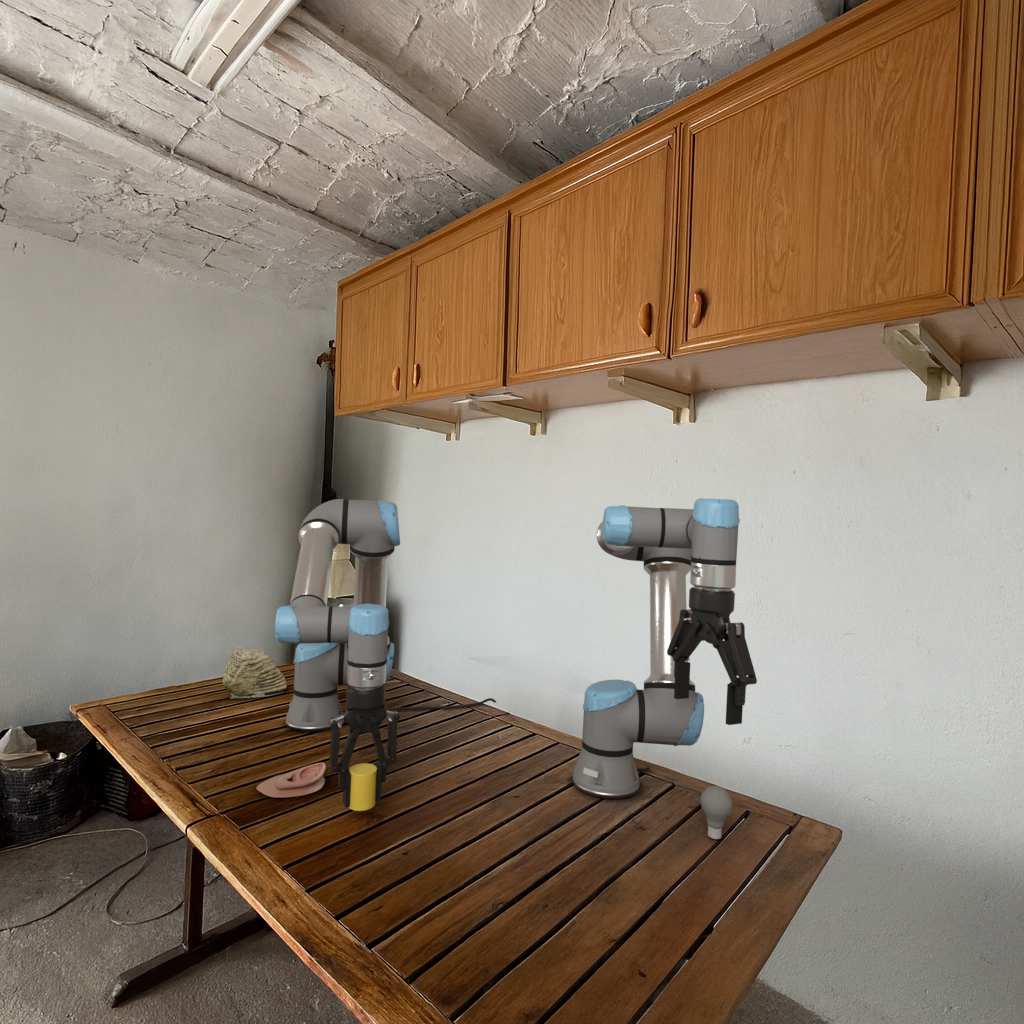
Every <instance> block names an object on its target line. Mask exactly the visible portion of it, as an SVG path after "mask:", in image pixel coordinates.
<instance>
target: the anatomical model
mask: <svg viewBox="0 0 1024 1024" xmlns="http://www.w3.org/2000/svg"><path fill="white" fill-rule="evenodd" d="M326 768H327V765H326V763H325V762H316V763H313V764H309V765H306V766H302V767H300V768H297V769H294V770H292V771H289V772H286V773H282V774H278V775H275V776H273V777H270V778H267V779H265V780H264V781H262V782H261V783H259V784H258V785H256V790H257V792H259V793H261V794H263V795H264V796H267V797H270V798H275V799H278V798H293V797H294V798H295V797H300V796H301V797H302V796H306V795H309V794H312V793H315V792H318V791H320V790H321V789H322V788H323V787H324V785H325V783H326V778H325V777H324V775H325V772H326V770H327V769H326Z"/></svg>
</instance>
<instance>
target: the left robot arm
mask: <svg viewBox="0 0 1024 1024" xmlns="http://www.w3.org/2000/svg"><path fill="white" fill-rule="evenodd" d="M398 512H399V511H398V506H397V504H396V503H395V502H393V501H385V500H381V499H378V500H373V499H344V498H336V499H331V500H327V501H326V502H323V503H321V504H319V505H318V506H317V507H314V509H312V510H311V511H310V512H309V513H308V514H307V515H306V516H305V518H304V519H303V521H302V523H301V525H300V527H299V531H298V542H299V544H300V548H299V552H298V553H299V554H298V559H297V563H296V568H295V569H296V570H295V576H294V580H293V586H292V591H291V596H290V603H289V604H287V605H282V606H279V607H278V609H277V610H276V614H275V622H274V635H275V639H276V640H277V641H276V642H278V643H283V644H294V645H296V648H295V655H294V660H293V663H294V674H293V675H294V680H293V695H292V696H293V697H292V699H291V702H289V708H288V711H287V713H286V715H285V726H286V728H287V729H289V730H291V731H294V732H295V731H296V732H301V733H316V732H325V731H329V730H331V731H330V732H331V733H330V744H329V760H328V766H329V768H330V771H331V772H332V773H337V775H338V778H337V785H338V788H339V789H340V790H342V803H343V805H344V808H349V803H350V778H351V773H350V771H349V769H350V768H349V766H350V762H351V760H352V756H353V753H354V750H355V746H356V744H357V741H358V740H359V736H360V735H362V734H366V733H368V734H371V736H372V742H373V744H374V749H375V752H376V757H377V760H378V763H375V764H374V765H375V766H376V767H377V778H376V803H379V802H380V803H381V801H382V800H381V799H382V784H384V783H386V781H387V772H388V771H387V769H388V768H389V765H391V764H395V763H397V759H398V758H397V756H398V755H397V754H398V753H397V745H398V744H397V742H398V739H397V738H398V736H397V735H398V733H397V732H398V731H397V730H398V724H399V722H400V721H399V720H400V718H401V716H400V714H399V713H398V712H397V711H412V710H413V711H414V710H415V711H416V710H448V709H459V708H460V709H461V708H470V707H475V706H480V705H483V704H485V703H487V702H493V703H495V704H496V703H497V700H495V699H494V698H492V697H489V698H486V699H484V700H481V701H479V702H478V701H477V702H473V703H466V704H465V703H464V704H458V705H437V706H436V705H435V706H408V707H407V706H405V707H392V708H386V688H387V687H386V685H385V684H386V683H388V681H389V680H390V677H391V675H392V669H393V665H394V656H395V643H394V642H391V641H390V637H389V627H390V619H389V610H388V608H387V591H388V588H387V587H388V571H389V570H388V569H389V557H391V556H392V555H394V553H395V547H398V546H400V545H401V535H400V524H399V513H398ZM338 545H349V551H350V553H351V554H352V555H353V556H354V557H355V558H354V586H353V587H354V588H353V589H354V591H353V606H332V605H331V606H328V597H329V591H330V590H329V589H330V583H331V582H330V581H331V573H332V563H333V554H334V549H336V547H337V546H338ZM338 686H346V689H345V708H344V711H343V709H342V706H341V702H340V699H339V695H338ZM385 719H386V722H387V749H386V750H387V752H385V749H384V743H383V741H382V737H381V730H380V725H382V722H383V721H384V720H385ZM344 723H346V724H347V726H348V731H347V736H346V740H345V743H344V746H343V750H342V753H341V755H340V741H341V729H342V728H343V724H344ZM386 753H387V755H386ZM339 755H340V759H339Z"/></svg>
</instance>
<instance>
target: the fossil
mask: <svg viewBox="0 0 1024 1024" xmlns="http://www.w3.org/2000/svg"><path fill="white" fill-rule="evenodd" d="M222 676H223V677H222V685H223V687H224V688H225V690H226V691H228V693H229V698H230V699H250V698H264V697H271V696H275V695H281V694H284V693H285V691H286V689H287V687H288V686H287V680H286V678H285V676H284V674H283V673H282V672H281V669H279V668H278V667H277V665H276V663H275V662H274V660H273V659H272V658H271V657H270V656H269V655H268V654H267V653H266V652H265V650H264V649H263V648H260V647H258V648H251V647H247V646H246V647H245V646H238V647H237V648H236V649H235V650H233V651H232V653H231V656H230V657H229V659H228V660H227V663H226V666H225V668H224V671H223V675H222Z"/></svg>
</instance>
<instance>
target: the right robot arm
mask: <svg viewBox="0 0 1024 1024" xmlns="http://www.w3.org/2000/svg"><path fill="white" fill-rule="evenodd" d="M739 508H740V507H739V503H738V501H736V500H734V499H723V498H697V499H696V500H695V501H694V503H693V508H672V507H645V506H628V505H608V506H607V507H605V508H604V511H603V516H602V521H601V522H600V523H599V525H598V526H597V530H596V541H597V544H598V545H599V547H600V548H601V550H602V551H603V552H605V553H606V554H608V555H610V556H612V557H615V558H617V559H621V560H624V561H625V560H626V561H631V562H632V561H633V562H642V563H643V571H644V572H646V574H648V575H649V634H650V635H649V647H650V648H649V650H650V651H649V654H650V655H649V657H650V658H649V659H650V660H649V661H650V663H649V664H650V665H649V666H650V667H649V669H650V670H649V676H648V677H647V678H646V679H645V680H644V681H643V689H637V686H636V684H635V683H634V681H633V682H632V681H630V680H624V679H606V680H605V679H604V680H599V681H596V682H593V683H591V684H590V685H588V687H586V689H585V692H584V698H583V704H582V709H583V717H582V718H583V719H582V737H581V739H582V740H581V749H580V752H579V755H578V757H577V760H576V762H575V765H574V768H573V771H572V778H571V781H572V785H573V786H574V787H575V789H577V790H578V791H580V792H581V793H583V794H586V795H588V796H591V797H594V798H598V799H603V800H604V799H605V800H622V799H628V798H631V797H633V796H635V795H636V794H638V792H640V776H639V772H641V773H646V772H648V771H650V770H651V768H650V766H647V767H638V766H637V764H636V760H635V757H634V743H638V744H649V745H650V744H653V745H665V746H674V747H678V746H687V747H688V746H693V745H696V743H697V742H698V740H699V739H700V737H701V733H702V729H703V727H704V726H703V725H704V720H705V719H704V718H705V703H704V702H705V700H704V699H705V698H704V696H703V694H702V693H700V692H697V691H696V684H695V683H694V681H693V680H692V679H691V662H690V661H691V659H690V657H691V656H692V654H693V653H694V652H695V650H696V649H697V648H698V646H699V645H700V644H701V642H703V641H705V642H706V643H707V644H709V645H712V647H713V648H714V649H716V650H717V653H718V655H719V657H720V660H721V662H722V664H723V667H724V669H725V671H726V674H727V676H728V677H729V680H730V682H729V683H727V685H726V687H727V689H726V703H725V704H726V707H725V725H727V726H733V725H741V724H742V723H743V711H744V710H743V709H744V706H745V704H746V693H747V692H746V691H747V686H749V685H756V684H757V683H758V679H757V675H756V671H755V668H754V664H753V661H752V657H751V654H750V651H749V647H748V643H747V640H746V634H745V631H746V630H745V629H746V628H745V624H744V623H743V622H731V619H730V616H731V614H732V613H733V612H734V611H735V600H736V599H735V598H736V593H735V592H734V590H732V589H735V588H736V586H737V585H736V584H737V558H738V542H739V541H738V540H739V524H740V523H741V522H740V521H741V519H740V510H739ZM689 573H690V575H689ZM687 575H689V576H690V577H689V584H690V585H692V587H690V588H689V591H688V605H687ZM687 607H688V608H687Z"/></svg>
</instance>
